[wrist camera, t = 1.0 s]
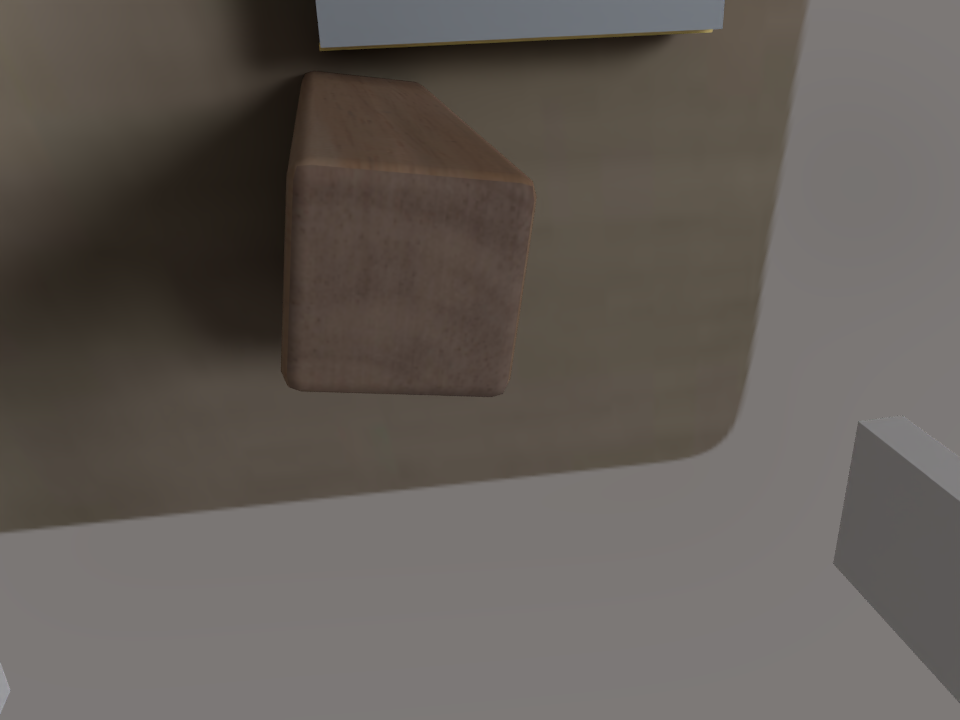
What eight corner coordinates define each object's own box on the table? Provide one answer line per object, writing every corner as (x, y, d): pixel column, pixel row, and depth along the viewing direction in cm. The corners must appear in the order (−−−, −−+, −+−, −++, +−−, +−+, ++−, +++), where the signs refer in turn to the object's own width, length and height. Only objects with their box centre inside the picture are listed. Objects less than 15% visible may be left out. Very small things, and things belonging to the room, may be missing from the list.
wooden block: (404, 307, 34) (484, 588, 18) (294, 302, 33) (273, 592, 17) (425, 82, 31) (545, 179, 15) (302, 68, 30) (286, 157, 14)
